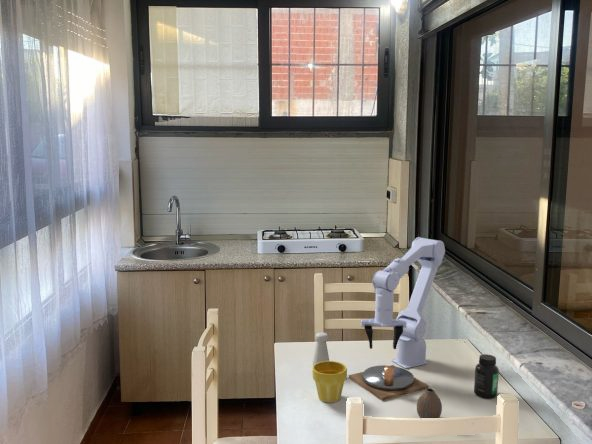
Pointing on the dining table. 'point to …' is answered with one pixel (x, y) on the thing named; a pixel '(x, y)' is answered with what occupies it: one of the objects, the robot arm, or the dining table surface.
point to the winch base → (388, 394)
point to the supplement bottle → (486, 377)
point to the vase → (429, 404)
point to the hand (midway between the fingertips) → (382, 347)
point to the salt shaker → (321, 348)
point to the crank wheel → (388, 377)
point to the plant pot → (329, 380)
